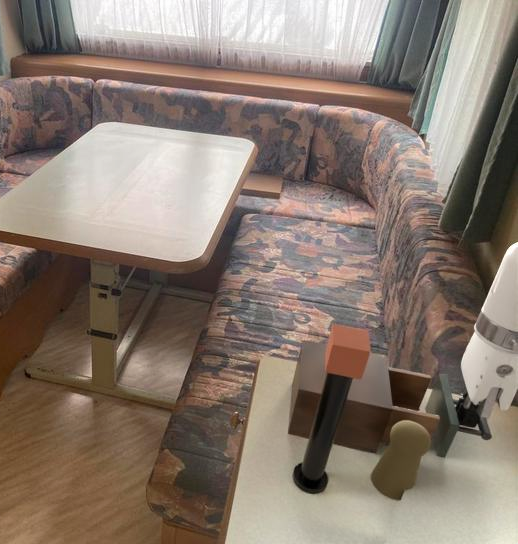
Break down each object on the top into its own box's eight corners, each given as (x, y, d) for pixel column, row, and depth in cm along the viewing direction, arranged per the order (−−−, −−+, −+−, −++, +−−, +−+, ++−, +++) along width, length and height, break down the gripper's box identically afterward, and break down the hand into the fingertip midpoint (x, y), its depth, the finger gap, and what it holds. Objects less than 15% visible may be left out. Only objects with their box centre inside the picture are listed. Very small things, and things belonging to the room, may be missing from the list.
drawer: (468, 417, 95) (485, 382, 91) (483, 471, 86) (502, 435, 82) (355, 393, 99) (366, 358, 95) (357, 442, 89) (369, 406, 85)
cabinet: (372, 399, 99) (386, 356, 94) (376, 454, 89) (393, 409, 84) (292, 382, 102) (302, 339, 97) (287, 433, 91) (298, 389, 86)
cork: (375, 497, 82) (396, 443, 76) (367, 463, 87) (386, 411, 81) (418, 503, 82) (443, 449, 76) (407, 468, 87) (430, 416, 81)
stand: (332, 477, 85) (368, 362, 73) (319, 500, 81) (356, 384, 70) (300, 460, 87) (331, 347, 76) (286, 482, 84) (316, 366, 72)
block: (360, 357, 74) (368, 330, 72) (361, 379, 70) (370, 351, 68) (325, 350, 75) (332, 323, 72) (324, 372, 71) (332, 344, 69)
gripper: (553, 368, 73) (500, 465, 82) (522, 303, 85) (479, 395, 95) (489, 355, 74) (444, 453, 84) (467, 294, 87) (430, 385, 96)
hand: (463, 422), depth 89 cm, fingers closed
